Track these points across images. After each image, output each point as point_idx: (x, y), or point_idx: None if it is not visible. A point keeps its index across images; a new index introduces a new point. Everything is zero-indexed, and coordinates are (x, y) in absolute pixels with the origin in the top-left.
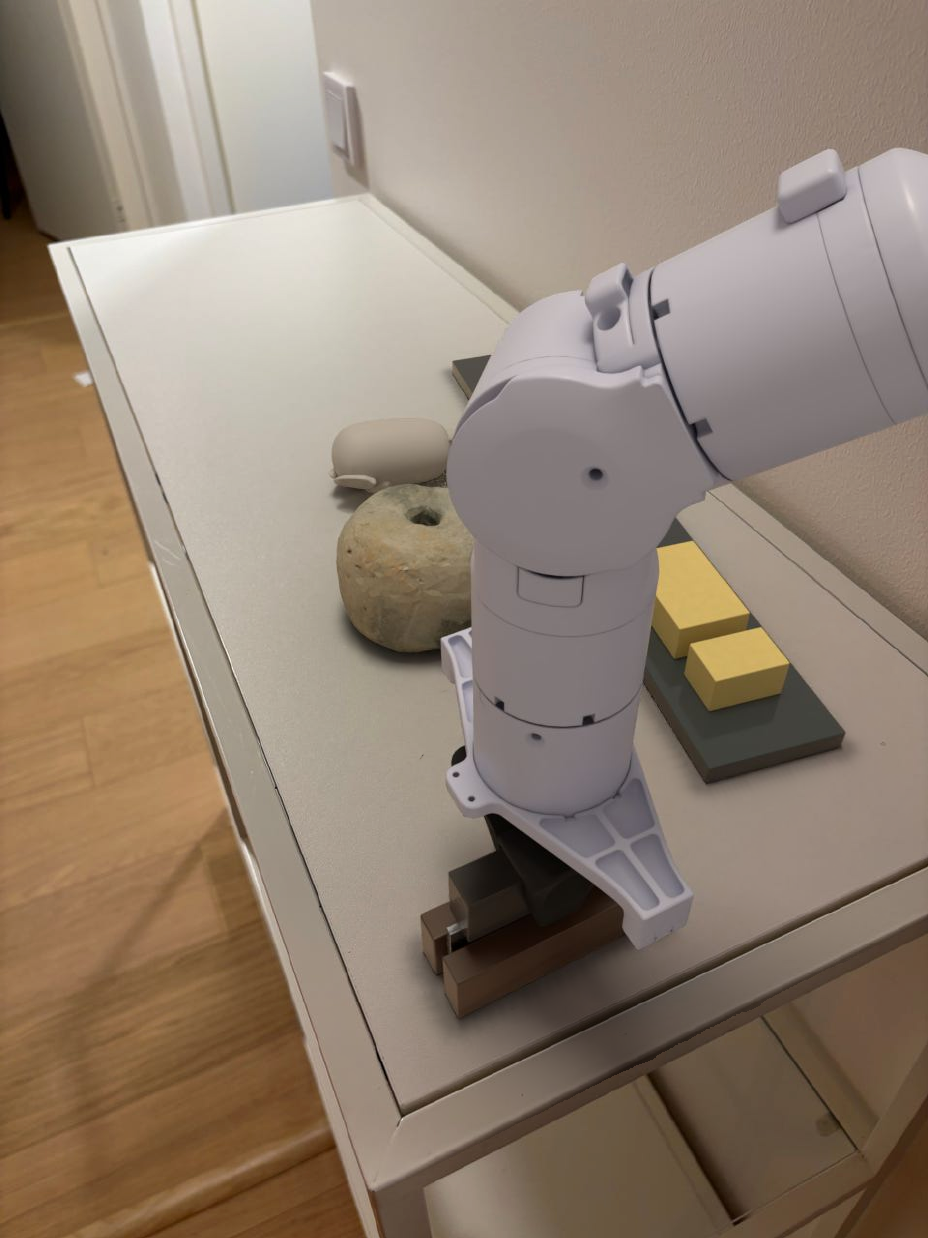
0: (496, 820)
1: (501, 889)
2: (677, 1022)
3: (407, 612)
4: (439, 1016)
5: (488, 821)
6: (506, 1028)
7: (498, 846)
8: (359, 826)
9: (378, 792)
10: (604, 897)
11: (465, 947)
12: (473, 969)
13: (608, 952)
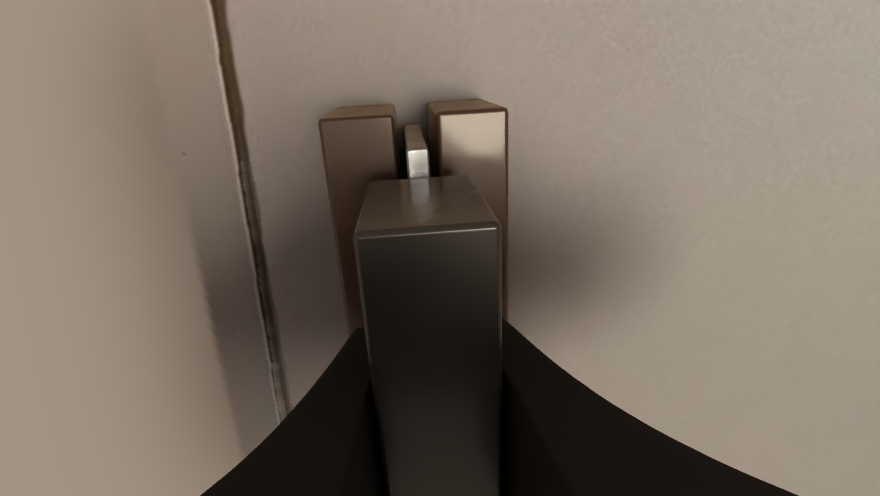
0: (553, 486)
1: (372, 344)
2: (228, 394)
3: None
4: (355, 77)
5: (579, 431)
6: (296, 176)
7: (517, 377)
8: (769, 84)
9: (808, 145)
10: None
11: (393, 170)
12: (340, 166)
13: None
